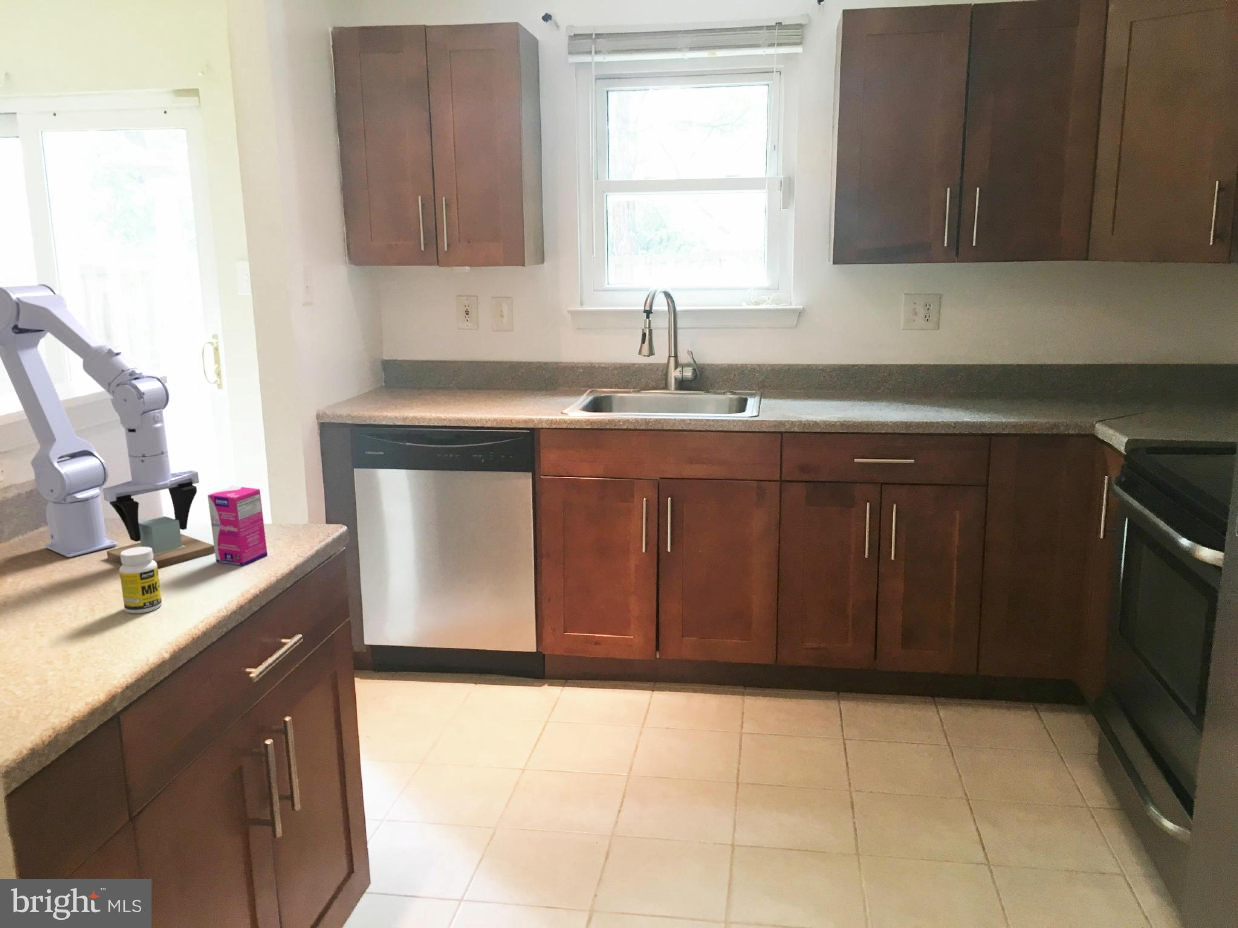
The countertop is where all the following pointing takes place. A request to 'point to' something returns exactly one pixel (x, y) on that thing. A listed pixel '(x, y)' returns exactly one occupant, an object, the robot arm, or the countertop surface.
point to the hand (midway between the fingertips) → (159, 534)
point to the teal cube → (160, 534)
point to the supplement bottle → (139, 580)
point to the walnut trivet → (171, 552)
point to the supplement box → (237, 525)
